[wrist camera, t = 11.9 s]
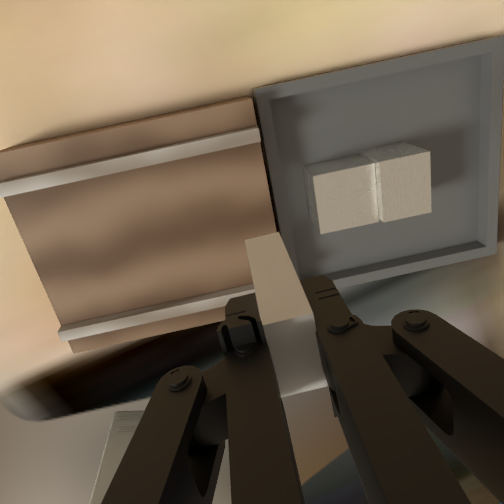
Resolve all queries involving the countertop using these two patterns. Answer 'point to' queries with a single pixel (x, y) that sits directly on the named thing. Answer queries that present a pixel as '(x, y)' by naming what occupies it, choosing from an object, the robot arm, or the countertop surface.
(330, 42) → the countertop surface
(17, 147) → the slot board
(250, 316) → the robot arm
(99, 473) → the supplement box
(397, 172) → the beige block
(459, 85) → the tray
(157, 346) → the countertop surface
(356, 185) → the white squarish block
